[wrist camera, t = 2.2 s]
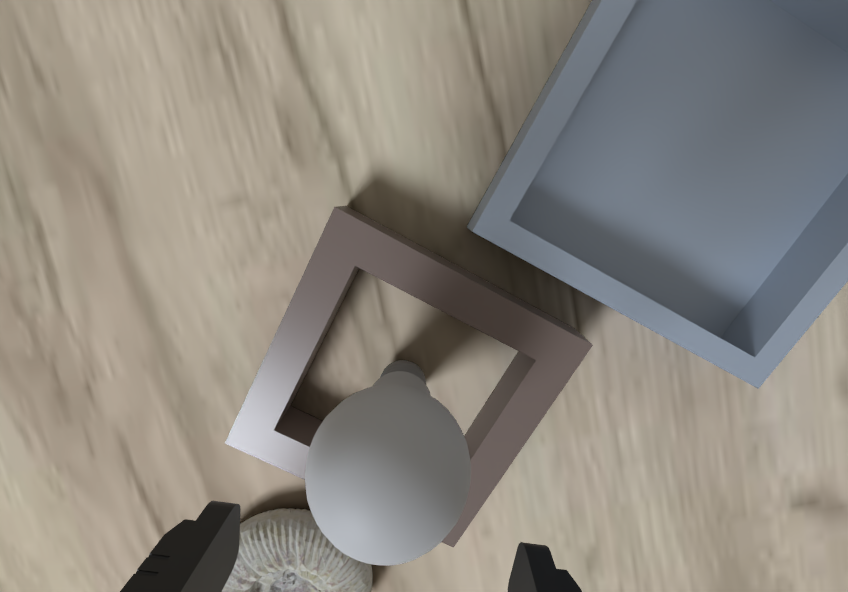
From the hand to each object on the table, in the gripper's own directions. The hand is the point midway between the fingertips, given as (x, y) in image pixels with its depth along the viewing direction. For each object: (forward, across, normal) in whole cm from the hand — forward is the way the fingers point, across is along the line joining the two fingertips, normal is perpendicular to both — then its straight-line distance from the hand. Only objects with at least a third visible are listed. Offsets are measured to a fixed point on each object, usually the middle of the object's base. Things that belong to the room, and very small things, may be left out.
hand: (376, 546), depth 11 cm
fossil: (+12, +5, +15) cm, 20 cm away
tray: (+12, -12, -13) cm, 22 cm away
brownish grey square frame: (+12, 0, 0) cm, 12 cm away
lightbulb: (+12, 0, 0) cm, 12 cm away
